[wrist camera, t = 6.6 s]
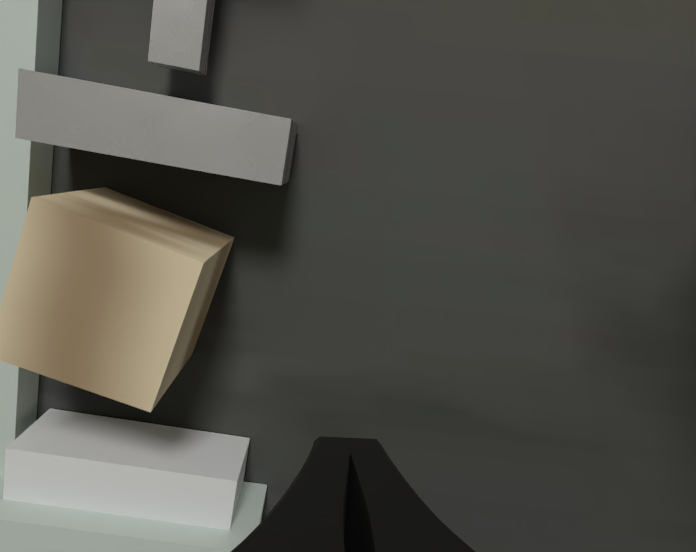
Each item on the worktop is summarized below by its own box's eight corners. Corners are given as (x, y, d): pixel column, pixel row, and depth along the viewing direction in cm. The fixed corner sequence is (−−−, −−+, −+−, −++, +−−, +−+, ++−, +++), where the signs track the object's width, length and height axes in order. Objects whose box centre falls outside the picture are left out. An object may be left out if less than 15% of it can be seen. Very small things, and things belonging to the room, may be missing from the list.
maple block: (235, 236, 20) (203, 262, 15) (192, 353, 21) (150, 412, 16) (105, 186, 20) (31, 197, 15) (68, 308, 21) (-14, 355, 16)
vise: (393, -277, 17) (410, -407, 13) (253, 566, 23) (237, 648, 19) (33, -363, 16) (-62, -527, 12) (-8, 531, 23) (-79, 609, 19)
